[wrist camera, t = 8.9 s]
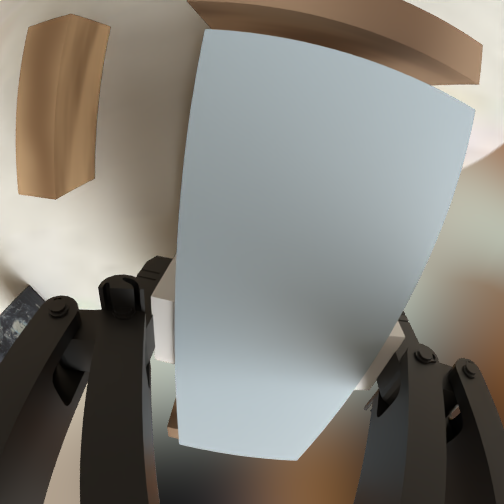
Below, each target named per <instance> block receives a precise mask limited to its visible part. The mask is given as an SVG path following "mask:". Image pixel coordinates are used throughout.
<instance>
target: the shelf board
mask: <svg viewBox="0 0 504 504" xmlns="http://www.w3.org/2000/svg"><path fill="white" fill-rule="evenodd" d="M474 114H475V109H473V108H471V107H470V106H468V105H466V104H465V103H463V102H461V101H459V100H458V99H456V98H454V97H452V96H450V95H448V94H446V93H444V92H443V91H441V90H439V89H437V88H435V87H433V86H431V85H428V84H426V83H424V82H422V81H420V80H418V79H415V78H413V77H411V76H409V75H406V74H404V73H402V72H399V71H397V70H394V69H392V68H389V67H386V66H384V65H381V64H378V63H376V62H373V61H370V60H367V59H364V58H361V57H358V56H355V55H352V54H348V53H345V52H342V51H338V50H335V49H331V48H327V47H323V46H319V45H315V44H311V43H307V42H302V41H297V40H292V39H287V38H282V37H276V36H270V35H263V34H256V33H248V32H239V31H229V30H216V29H205V32H204V37H203V42H202V46H201V52H200V57H199V62H198V67H197V73H196V79H195V85H194V91H193V97H192V103H191V110H190V117H189V124H188V132H187V139H186V147H185V156H184V165H183V174H182V185H181V196H180V208H179V221H178V236H177V254H176V278H175V378H176V379H175V380H176V403H177V420H178V434H179V444H181V445H185V446H190V447H194V448H199V449H204V450H209V451H214V452H220V453H227V454H233V455H241V456H248V457H257V458H267V459H280V460H297V459H298V458H299V457H300V456H301V455H302V454H303V453H304V452H305V451H306V450H307V448H308V447H309V446H310V445H311V444H312V443H313V441H314V440H315V439H316V438H317V437H318V435H319V434H320V433H321V432H322V431H323V430H324V428H325V427H326V426H327V425H328V423H329V422H330V421H331V420H332V418H333V417H334V416H335V415H336V413H337V412H338V411H339V409H340V408H341V407H342V405H343V404H344V403H345V401H346V400H347V399H348V397H349V396H350V395H351V393H352V392H353V390H354V389H355V388H356V386H357V385H358V383H359V382H360V380H361V379H362V378H363V376H364V375H365V373H366V372H367V370H368V369H369V367H370V366H371V364H372V362H373V361H374V359H375V358H376V356H377V355H378V353H379V351H380V350H381V348H382V347H383V345H384V343H385V342H386V340H387V338H388V337H389V335H390V333H391V332H392V330H393V328H394V326H395V325H396V323H397V321H398V319H399V317H400V316H401V314H402V312H403V310H404V308H405V306H406V305H407V303H408V301H409V299H410V297H411V295H412V293H413V291H414V289H415V287H416V285H417V283H418V281H419V279H420V277H421V274H422V272H423V270H424V268H425V266H426V264H427V261H428V259H429V257H430V255H431V252H432V250H433V247H434V245H435V243H436V241H437V238H438V235H439V233H440V231H441V228H442V225H443V223H444V220H445V217H446V215H447V212H448V209H449V206H450V203H451V200H452V198H453V195H454V192H455V189H456V185H457V182H458V179H459V176H460V172H461V169H462V165H463V162H464V158H465V154H466V150H467V146H468V142H469V138H470V134H471V129H472V125H473V120H474Z"/></svg>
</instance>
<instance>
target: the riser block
mask: <svg viewBox="0 0 504 504" xmlns="http://www.w3.org/2000/svg"><path fill="white" fill-rule="evenodd" d="M110 28H111V27H110V26H107V25H104V24H101V23H99V22H96V21H93V20H90V19H86V18H83V17H80V16H77V15H73V14H68V15H65V16H61V17H58V18H54V19H51V20H48V21H45V22H42V23H39V24H36V25H33V26H31V27H29V28H28V32H27V36H26V41H25V46H24V52H23V57H22V63H21V70H20V78H19V87H18V97H17V112H16V166H17V182H18V193H19V194H21V195H28V196H35V197H41V198H48V199H55V200H56V199H58V198H59V197H61V196H63V195H65V194H66V193H68V192H70V191H72V190H74V189H76V188H77V187H79V186H81V185H83V184H85V183H87V182H89V181H91V180H93V179H95V142H96V124H97V112H98V102H99V93H100V84H101V77H102V70H103V64H104V58H105V52H106V47H107V42H108V37H109V32H110Z"/></svg>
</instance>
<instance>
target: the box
mask: <svg viewBox="0 0 504 504" xmlns="http://www.w3.org/2000/svg"><path fill="white" fill-rule="evenodd" d="M44 302H45V301H44V300H43V299H41V297H40V296H38V294H37V293H36V292H35V291H34V290H33V289H32V288H31V287H30V286H28V287H27V288H26V289H25V290H24V291H23V292H22V293H21V294H20V295H19V296H18V297H17V298H16V299H15V300H14V301H13V302H12V303H11V304H10V305H9V306H8V307H7V308H6V309H5V310H4V311H3V312H2V314H1V315H0V363H1V361H2V360H3V358H4V357H5V355H6V354H7V352H8V351H9V349H10V348H11V346H12V345H13V343H14V342H15V341H16V339H17V338H18V336H19V335H20V333H21V332H22V331H23V329H24V328H25V327H26V325H27V324H28V322H29V321H30V320H31V318H32V317H33V316H34V314H35V313H36V312H37V311H38V309H39V308H40V307H41V305H42V304H43V303H44Z"/></svg>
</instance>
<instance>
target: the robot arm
mask: <svg viewBox="0 0 504 504" xmlns="http://www.w3.org/2000/svg"><path fill="white" fill-rule="evenodd" d="M176 254H177V253H176ZM175 278H176V255H175V256H174V258H173V259H170V258H165V257H160V256H156V257H154V258H152V259H150V260H149V261H147V262H146V264H145V265H144V266H143V268H142V270H140V272H139V273H138V275H137V277H133V276H129V275H114V276H111V277H108V278H106V279H105V280H104V281H102V282H101V284H100V285H99V287H98V289H99V296H100V302H101V307H102V310H79V308H78V304H77V302H76V301H75V300H74V299H73V298H71V297H68V296H56V297H52V298H50V299H48V300H47V301H46V302H44V303H43V304H42V305H41V307H40V308H39V309H38V311H37V312H36V313H35V314H34V316H33V317H32V318H31V320H30V321H29V322H28V324H27V325H26V327H25V328H24V329H23V331H22V332H21V333H20V335H19V336H18V338H17V339H16V341H15V342H14V343H13V345H12V346H11V348H10V349H9V351H8V352H7V354H6V355H5V357H4V358H3V360H2V361H1V363H0V504H43V503H44V499H45V496H46V492H47V489H48V486H49V482H50V479H51V476H52V473H53V469H54V467H55V464H56V461H57V458H58V455H59V452H60V449H61V446H62V444H63V441H64V438H65V436H66V433H67V430H68V428H69V425H70V423H71V420H72V417H73V415H74V413H75V410H76V408H77V405H78V403H79V401H80V398H81V396H82V393H83V391H84V389H85V387H86V384H87V382H88V385H87V392H86V400H85V408H84V417H83V427H82V440H81V458H80V504H160V502H159V494H158V487H157V477H156V470H155V469H156V468H155V457H154V445H153V432H152V431H153V429H152V408H151V365H150V358H151V356H152V353H153V351H154V353H155V359H156V360H160V361H163V362H168V363H172V364H175ZM376 380H377V383H378V387H379V389H378V390H377V392H376V393H375V394H374V396H373V397H372V398H371V399H370V400H369V402H368V403H367V404H366V405H365V408H364V410H367V409H368V408H369V407H370V406H371V404H372V409H371V410H370V411H371V419H370V426H369V432H368V438H367V444H366V450H365V455H364V460H363V465H362V470H361V475H360V479H359V484H358V488H357V492H356V497H355V500H354V504H504V428H503V426H502V423H501V420H500V417H499V415H498V412H497V409H496V407H495V404H494V402H493V399H492V397H491V395H490V392H489V390H488V387H487V385H486V383H485V380H484V378H483V376H482V374H481V372H480V370H479V368H478V367H477V366H476V365H475V364H474V362H472V361H471V360H469V359H465V358H461V359H459V360H457V361H456V363H455V364H454V365H453V367H451V366H448V365H445V364H442V363H439V361H438V358H437V356H436V354H435V353H434V352H433V351H432V350H431V349H430V348H429V347H427V346H425V345H423V344H419V342H418V340H417V338H416V336H415V334H414V331H413V330H412V327H411V325H410V323H409V322H408V319H407V317H406V316H405V313H404V311H403V312H402V314H401V316H400V317H399V319H398V321H397V323H396V325H395V326H394V328H393V330H392V332H391V333H390V335H389V337H388V338H387V340H386V342H385V343H384V345H383V347H382V348H381V350H380V351H379V353H378V355H377V356H376V358H375V359H374V361H373V362H372V364H371V366H370V367H369V369H368V370H367V372H366V373H365V375H364V376H363V378H362V379H361V380H360V382H359V383H358V385H357V386H356V388H355V389H354V390H369V389H370V388H371V386H373V384H374V383H375V381H376ZM458 406H459V409H460V412H461V413H460V414H459V415H458V416H456V417H455V418H453V417H452V416H451V413H452V412H453V411H454V410H455V409H456V408H457V407H458Z"/></svg>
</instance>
